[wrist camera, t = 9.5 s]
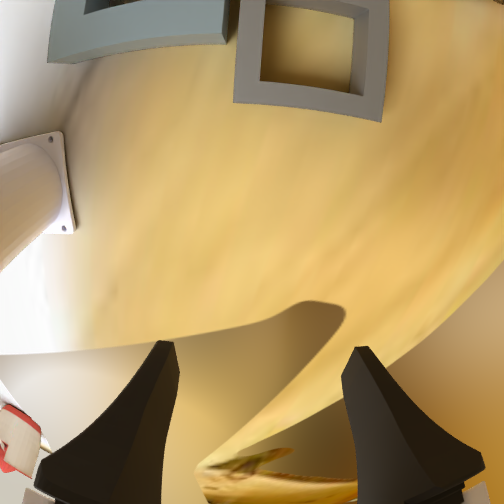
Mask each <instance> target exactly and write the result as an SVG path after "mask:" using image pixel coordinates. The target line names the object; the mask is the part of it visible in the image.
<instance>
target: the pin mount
mask: <svg viewBox="0 0 504 504" xmlns="http://www.w3.org/2000/svg"><path fill="white" fill-rule="evenodd" d="M265 4H271V5H281V6H290V7H297V8H304V9H310V10H316V11H321V12H327V13H331V14H336V15H341V16H345V17H349V18H353V19H354V34H353V51H352V65H351V77H350V88H349V93H345V92H340V91H334V90H329V89H323V88H317V87H310V86H303V85H295V84H286V83H276V82H265V81H260V69H261V55H262V42H263V28H264V15H265ZM388 46H389V0H241V1H240V13H239V24H238V37H237V50H236V64H235V79H234V95H233V103H246V104H262V105H274V106H285V107H294V108H302V109H310V110H317V111H324V112H330V113H336V114H342V115H347V116H353V117H358V118H363V119H367V120H372V121H376V122H381V121H382V114H383V106H384V97H385V87H386V76H387V63H388Z"/></svg>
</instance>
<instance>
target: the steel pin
mask: <svg viewBox="0 0 504 504" xmlns="http://www.w3.org/2000/svg"><path fill="white" fill-rule="evenodd" d="M120 1H122V2H124V3H125V4H127V3H132V2H137V1H142V0H120Z"/></svg>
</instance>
